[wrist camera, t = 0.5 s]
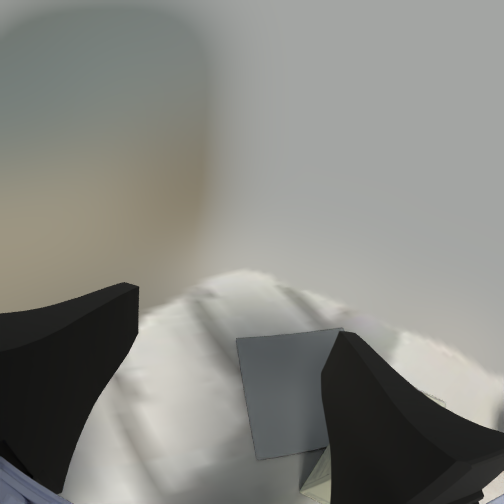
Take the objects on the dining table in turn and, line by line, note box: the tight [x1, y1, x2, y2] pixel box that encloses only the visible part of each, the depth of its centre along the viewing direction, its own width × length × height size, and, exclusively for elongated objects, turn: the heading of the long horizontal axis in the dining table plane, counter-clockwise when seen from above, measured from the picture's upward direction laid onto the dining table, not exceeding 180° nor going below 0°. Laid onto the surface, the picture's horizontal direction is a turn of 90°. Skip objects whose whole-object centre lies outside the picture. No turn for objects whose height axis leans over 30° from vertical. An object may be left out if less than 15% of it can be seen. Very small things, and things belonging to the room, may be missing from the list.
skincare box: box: [300, 388, 446, 504], centre depth 15 cm, size 6×4×12 cm
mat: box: [236, 328, 344, 460], centre depth 27 cm, size 14×13×1 cm
